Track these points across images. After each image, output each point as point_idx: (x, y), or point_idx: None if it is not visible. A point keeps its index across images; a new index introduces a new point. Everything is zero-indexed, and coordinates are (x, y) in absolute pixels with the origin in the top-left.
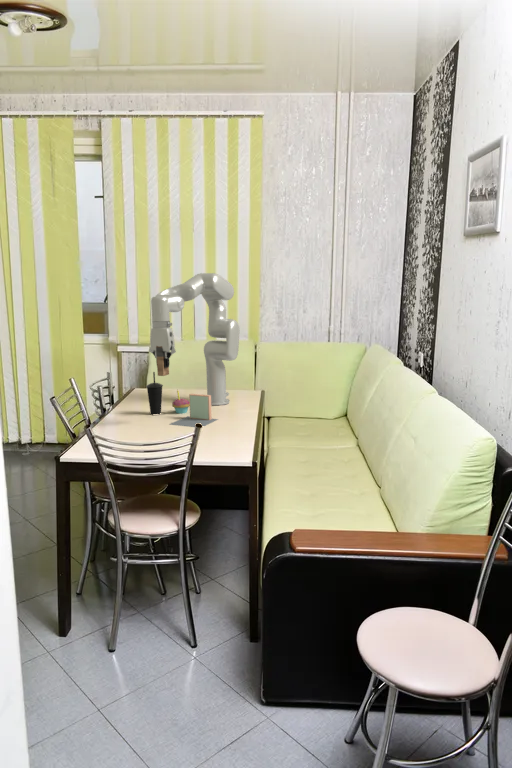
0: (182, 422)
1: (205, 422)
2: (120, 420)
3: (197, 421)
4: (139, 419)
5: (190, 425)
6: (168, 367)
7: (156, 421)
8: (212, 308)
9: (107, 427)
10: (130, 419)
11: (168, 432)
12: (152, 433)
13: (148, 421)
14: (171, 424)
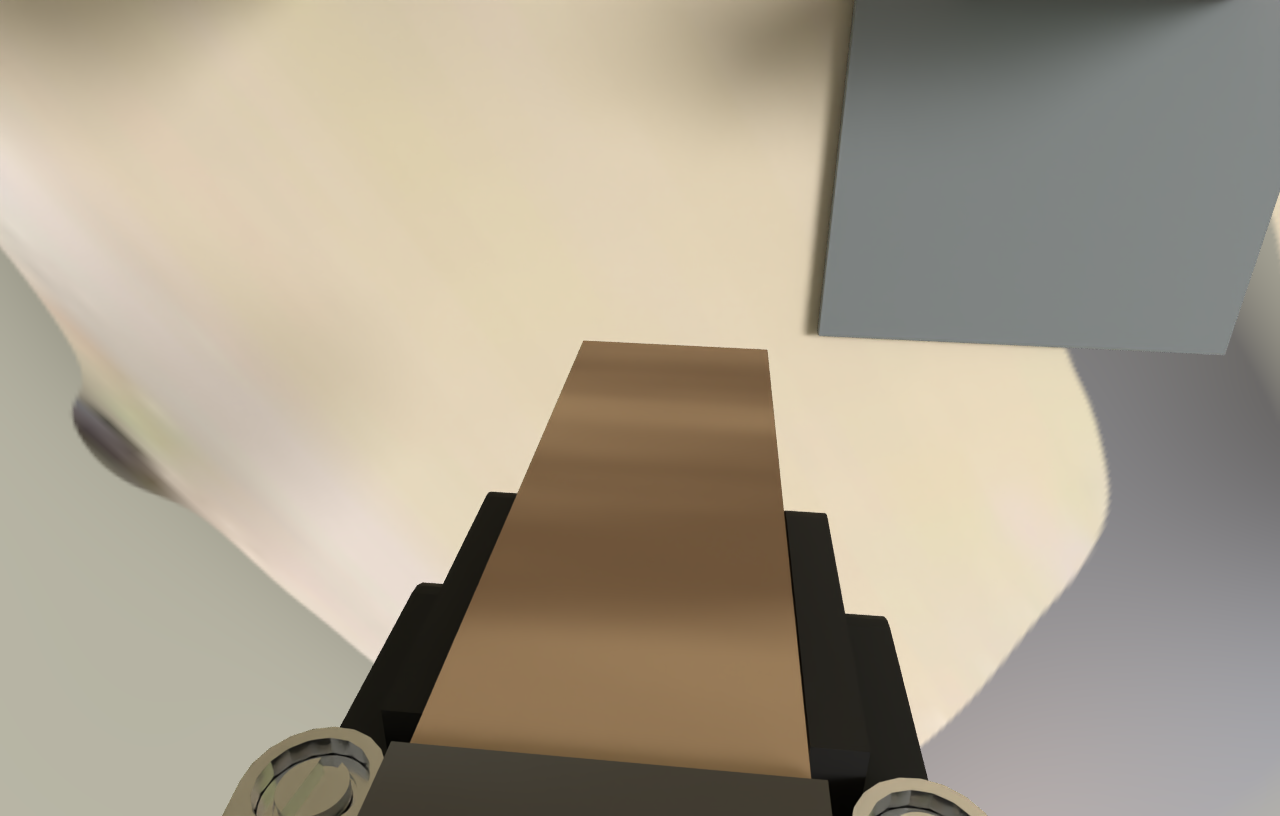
0: (933, 217)
1: (1222, 124)
2: (227, 296)
3: (1103, 114)
4: (368, 195)
5: (1075, 306)
6: (774, 456)
7: (593, 212)
8: None
9: (319, 534)
10: (284, 227)
11: (923, 529)
12: None
13: (513, 240)
14: (849, 331)
